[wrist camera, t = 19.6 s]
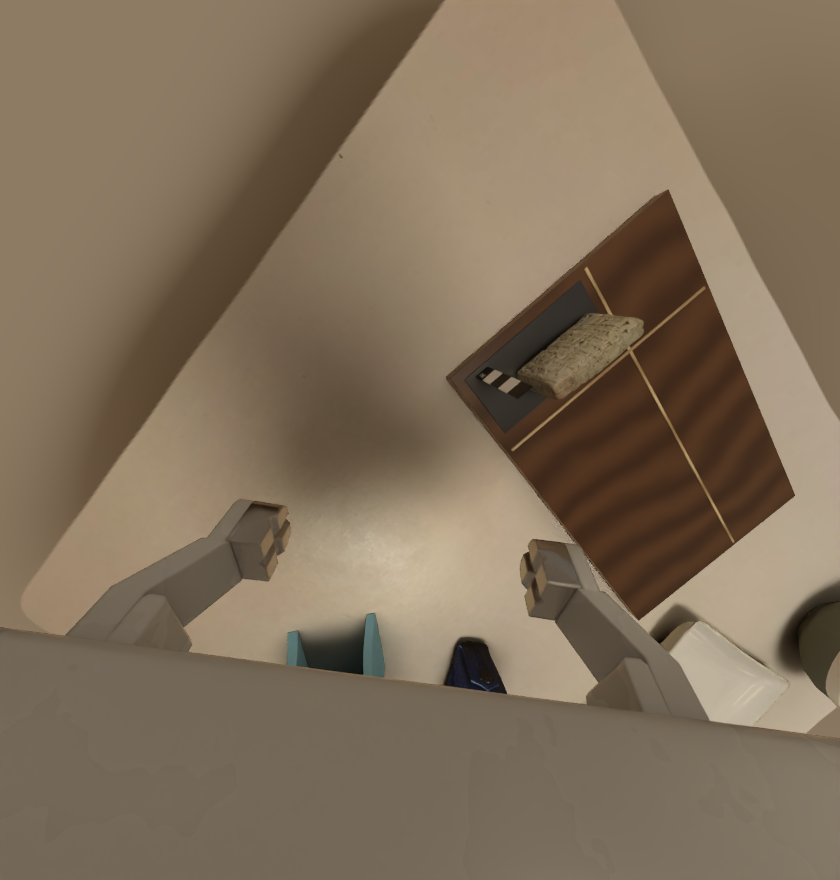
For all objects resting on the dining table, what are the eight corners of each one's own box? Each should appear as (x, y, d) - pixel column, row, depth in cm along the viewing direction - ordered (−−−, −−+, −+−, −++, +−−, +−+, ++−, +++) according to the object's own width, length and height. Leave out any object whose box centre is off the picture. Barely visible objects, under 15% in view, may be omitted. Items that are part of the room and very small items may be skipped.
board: (445, 377, 32) (450, 378, 30) (654, 196, 30) (670, 187, 29) (629, 612, 44) (640, 622, 43) (781, 490, 43) (797, 496, 42)
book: (452, 635, 40) (534, 890, 21) (491, 635, 41) (603, 878, 22) (429, 722, 43) (482, 1011, 24) (466, 720, 44) (544, 996, 25)
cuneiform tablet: (475, 376, 30) (575, 290, 30) (497, 409, 32) (591, 330, 32) (516, 398, 24) (644, 290, 23) (540, 437, 26) (658, 339, 26)
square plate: (551, 734, 48) (567, 766, 45) (675, 599, 45) (702, 620, 42) (656, 777, 56) (677, 807, 52) (767, 664, 53) (797, 687, 49)
